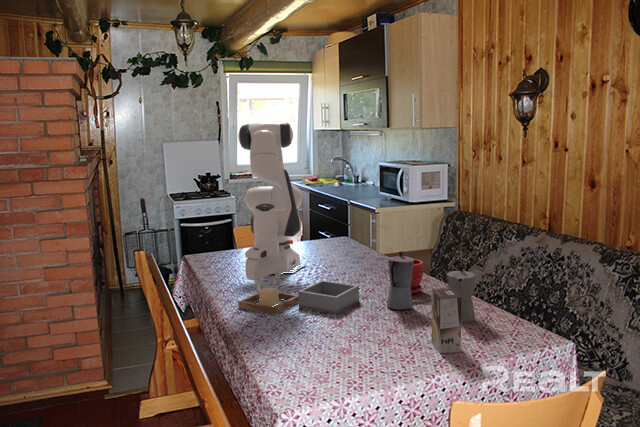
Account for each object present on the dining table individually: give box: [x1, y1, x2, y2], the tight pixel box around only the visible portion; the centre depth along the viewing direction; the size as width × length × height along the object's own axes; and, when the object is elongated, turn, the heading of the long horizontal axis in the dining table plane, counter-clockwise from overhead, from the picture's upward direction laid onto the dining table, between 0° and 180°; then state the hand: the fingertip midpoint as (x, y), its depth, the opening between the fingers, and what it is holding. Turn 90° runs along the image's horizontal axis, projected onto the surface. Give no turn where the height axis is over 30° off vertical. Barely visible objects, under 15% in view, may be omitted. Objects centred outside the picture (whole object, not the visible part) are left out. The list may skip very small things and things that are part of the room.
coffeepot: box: [446, 265, 477, 324], centre depth 178 cm, size 15×9×18 cm, turn 162°
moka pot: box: [386, 251, 414, 311], centre depth 190 cm, size 10×15×20 cm, turn 155°
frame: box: [237, 291, 299, 316], centre depth 197 cm, size 16×16×2 cm
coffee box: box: [431, 288, 462, 354], centre depth 154 cm, size 9×6×16 cm
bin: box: [297, 280, 360, 315], centre depth 196 cm, size 16×16×6 cm
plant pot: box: [410, 258, 424, 295], centre depth 209 cm, size 13×13×12 cm
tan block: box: [258, 286, 280, 307], centre depth 197 cm, size 5×5×6 cm
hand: (268, 286), depth 196 cm, fingers open, 8 cm apart
